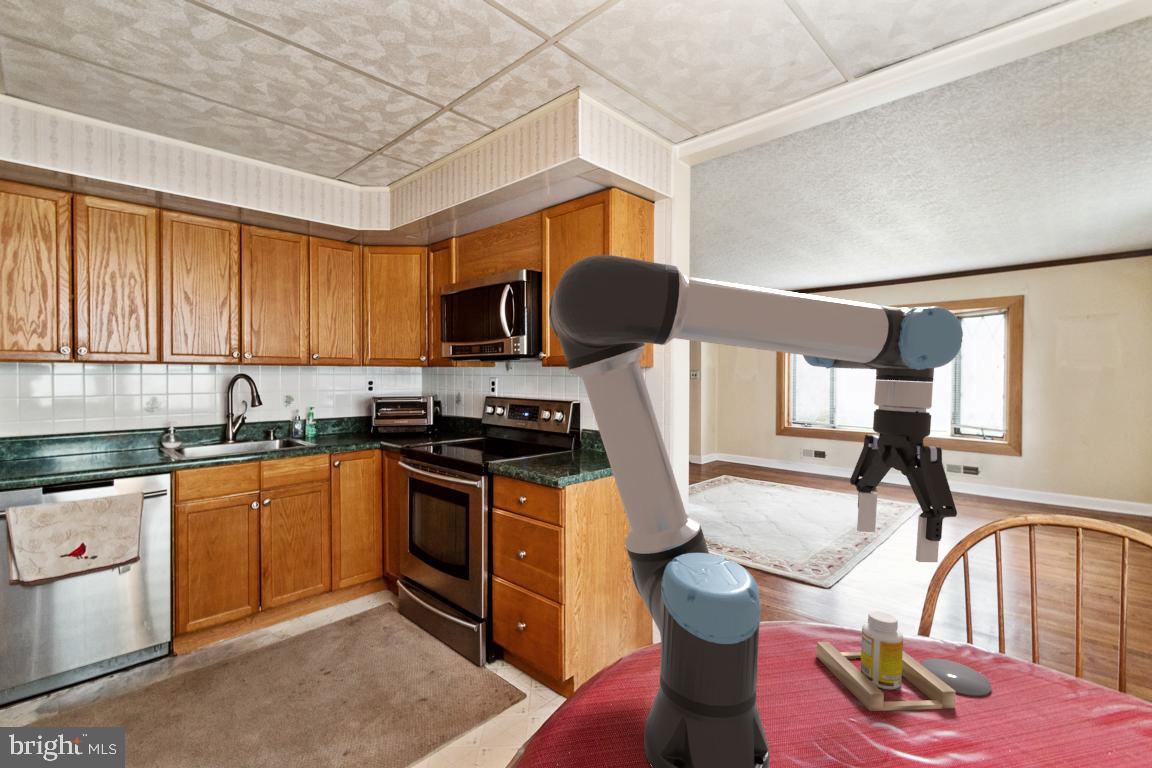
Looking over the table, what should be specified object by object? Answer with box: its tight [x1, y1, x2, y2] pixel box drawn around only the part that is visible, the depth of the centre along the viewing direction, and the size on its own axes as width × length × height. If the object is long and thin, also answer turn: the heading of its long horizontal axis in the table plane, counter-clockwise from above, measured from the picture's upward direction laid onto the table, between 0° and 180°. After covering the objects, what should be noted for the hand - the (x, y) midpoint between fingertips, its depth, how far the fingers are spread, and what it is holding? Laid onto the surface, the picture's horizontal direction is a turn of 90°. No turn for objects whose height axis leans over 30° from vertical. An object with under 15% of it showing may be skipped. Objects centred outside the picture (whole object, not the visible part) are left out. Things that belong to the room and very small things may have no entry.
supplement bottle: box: [860, 610, 904, 690], centre depth 81 cm, size 6×6×10 cm
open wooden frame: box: [816, 641, 957, 712], centre depth 82 cm, size 13×14×2 cm
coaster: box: [920, 658, 992, 697], centre depth 83 cm, size 9×9×1 cm
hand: (893, 545), depth 81 cm, fingers open, 13 cm apart
